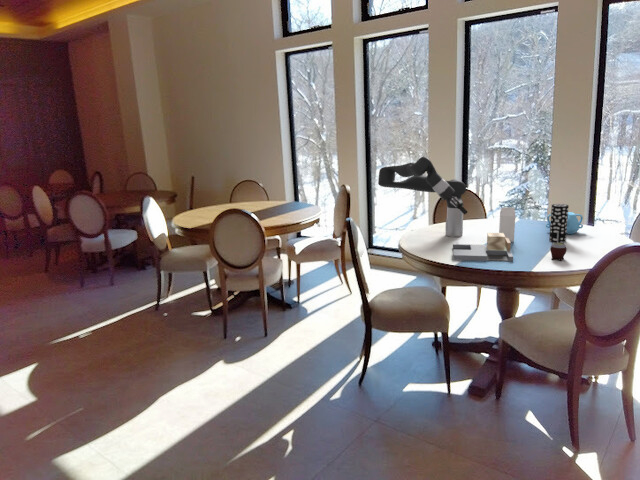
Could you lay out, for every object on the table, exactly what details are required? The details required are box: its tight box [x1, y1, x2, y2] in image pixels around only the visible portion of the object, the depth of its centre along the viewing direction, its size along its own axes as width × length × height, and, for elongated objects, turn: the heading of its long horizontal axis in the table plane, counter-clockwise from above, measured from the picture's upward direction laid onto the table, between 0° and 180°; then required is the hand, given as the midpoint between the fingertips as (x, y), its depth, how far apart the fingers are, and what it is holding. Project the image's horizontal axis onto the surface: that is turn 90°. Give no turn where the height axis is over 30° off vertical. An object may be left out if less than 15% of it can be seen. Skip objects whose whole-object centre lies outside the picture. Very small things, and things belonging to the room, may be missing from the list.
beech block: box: [486, 232, 505, 250], centre depth 258 cm, size 8×8×7 cm
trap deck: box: [452, 238, 514, 262], centre depth 255 cm, size 28×22×6 cm
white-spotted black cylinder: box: [548, 203, 570, 243], centre depth 274 cm, size 8×8×20 cm
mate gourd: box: [549, 232, 568, 262], centre depth 241 cm, size 8×8×15 cm
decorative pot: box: [545, 211, 584, 235], centre depth 293 cm, size 16×16×14 cm
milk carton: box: [498, 206, 516, 243], centre depth 280 cm, size 7×7×19 cm
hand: (466, 213), depth 258 cm, fingers closed
